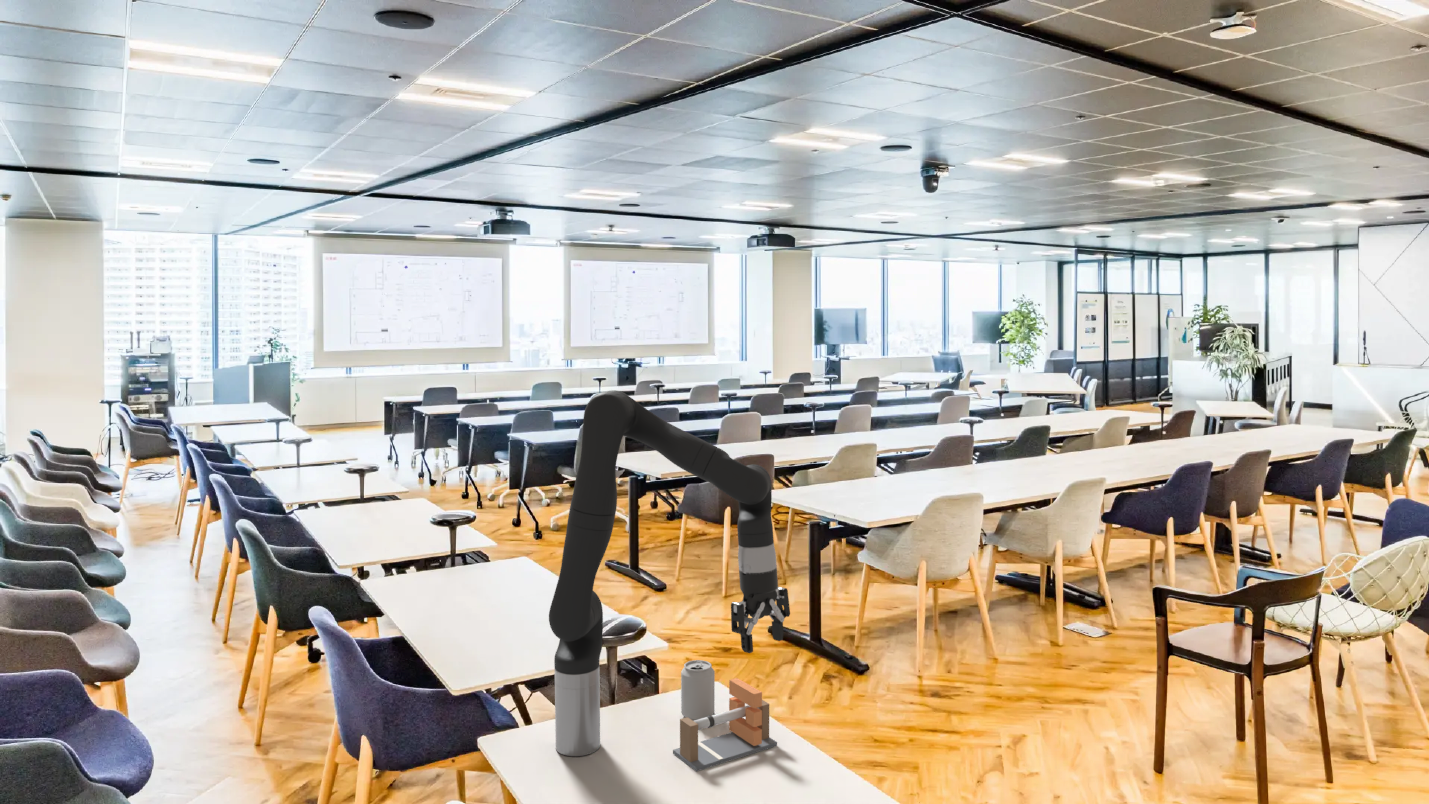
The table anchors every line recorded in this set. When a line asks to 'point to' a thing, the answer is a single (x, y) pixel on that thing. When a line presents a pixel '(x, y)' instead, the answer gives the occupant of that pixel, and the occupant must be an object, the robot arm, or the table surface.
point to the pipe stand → (719, 740)
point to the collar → (753, 715)
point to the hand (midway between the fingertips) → (763, 646)
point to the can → (697, 689)
